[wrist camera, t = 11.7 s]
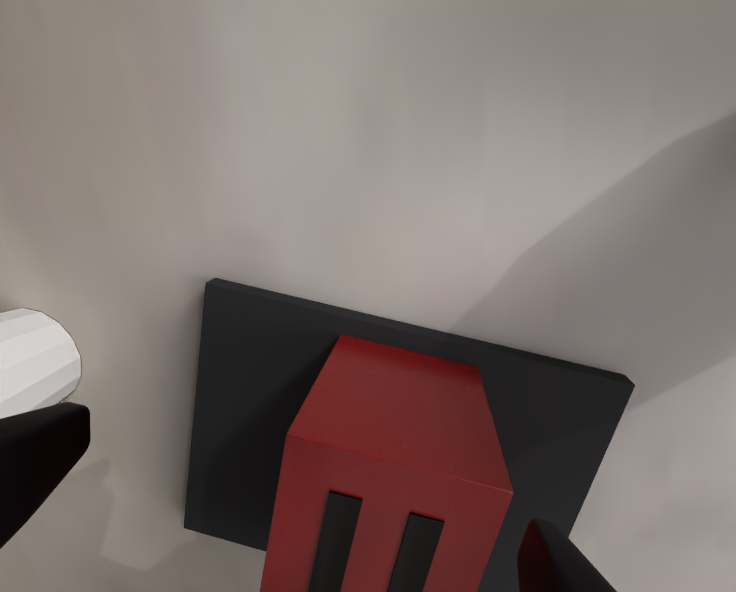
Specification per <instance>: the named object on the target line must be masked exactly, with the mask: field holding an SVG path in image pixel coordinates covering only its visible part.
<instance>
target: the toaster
mask: <svg viewBox="0 0 736 592" xmlns="http://www.w3.org/2000/svg"><path fill="white" fill-rule="evenodd" d="M512 495H513V490H512V486H511V483H510V479H509V475H508V472H507V468H506V465H505V461H504V458H503V454H502V451H501V447H500V443H499V440H498V436H497V433H496V429H495V426H494V422H493V419H492V415H491V411H490V408H489V404H488V401H487V397H486V394H485V390H484V387H483V383H482V379H481V376H480V372H479V369H478V367H475V366H471V365H467V364H463V363H459V362H454V361H450V360H446V359H442V358H438V357H434V356H430V355H425V354H421V353H417V352H413V351H409V350H405V349H401V348H396V347H392V346H388V345H384V344H380V343H376V342H372V341H368V340H363V339H359V338H355V337H351V336H347V335H343V334H341V335H340V337H339V338H338V340H337V342H336V344H335V346H334V348H333V349H332V351H331V353H330V355H329V357H328V359H327V360H326V362H325V364H324V366H323V368H322V370H321V371H320V373H319V375H318V377H317V379H316V380H315V382H314V384H313V386H312V388H311V390H310V391H309V393H308V395H307V397H306V399H305V401H304V402H303V404H302V406H301V408H300V410H299V412H298V413H297V415H296V417H295V419H294V421H293V423H292V424H291V426H290V428H289V430H288V432H287V434H286V439H285V445H284V451H283V457H282V463H281V468H280V474H279V480H278V486H277V492H276V498H275V504H274V510H273V516H272V522H271V528H270V534H269V540H268V546H267V552H266V558H265V564H264V570H263V576H262V581H261V587H260V592H476V591H477V589H478V586H479V583H480V581H481V578H482V575H483V573H484V570H485V567H486V565H487V562H488V559H489V557H490V554H491V551H492V549H493V546H494V543H495V541H496V538H497V535H498V533H499V530H500V527H501V525H502V522H503V519H504V517H505V514H506V511H507V509H508V506H509V503H510V501H511V498H512Z"/></svg>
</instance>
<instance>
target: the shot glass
mask: <svg viewBox="0 0 736 592" xmlns="http://www.w3.org/2000/svg"><path fill="white" fill-rule="evenodd" d="M80 377H81V359H80V355H79V353H78V350H77V348H76V346H75V343H74V341H73V339H72V338H71V336H70V335H69V334H68V333H67V332H66V331H65V330H64V328H63V327H62V326H61V325H60V324H59V323H58V322H57V321H55V320H53V319H52V318H50V317H48V316H47V315H45V314H44V313H42V312H39V311H34V310H29V309H24V308H21V309H16V310H12V311H7V312H3V313H0V419H1V418H5V417H9V416H13V415H17V414H21V413H25V412H29V411H33V410H36V409H40V408H44V407H48V406H52V405H55V404H56V403H58V402H59V401H60V400H62V399H63V398H64V397H66V396H67V395H68V394H70V393H71V392H72V391H74V390H75V388H76V386H77V384H78V381H79V379H80Z"/></svg>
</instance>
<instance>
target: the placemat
mask: <svg viewBox="0 0 736 592" xmlns="http://www.w3.org/2000/svg"><path fill="white" fill-rule="evenodd" d="M341 334H343V335H347V336H351V337H355V338H359V339H363V340H368V341H372V342H376V343H380V344H384V345H388V346H392V347H396V348H401V349H405V350H409V351H413V352H417V353H421V354H425V355H430V356H434V357H438V358H442V359H446V360H450V361H454V362H459V363H463V364H467V365H471V366H475V367H478V369H479V372H480V376H481V379H482V383H483V387H484V390H485V394H486V397H487V401H488V404H489V408H490V411H491V415H492V419H493V422H494V426H495V429H496V433H497V436H498V440H499V443H500V447H501V451H502V454H503V458H504V461H505V465H506V468H507V472H508V475H509V479H510V483H511V486H512V490H513V495H512V498H511V501H510V503H509V506H508V509H507V511H506V514H505V517H504V519H503V522H502V525H501V527H500V530H499V533H498V535H497V538H496V541H495V543H494V546H493V549H492V551H491V554H490V557H489V559H488V562H487V565H486V567H485V570H484V573H483V575H482V578H481V581H480V583H479V586H478V589H477V591H476V592H520V591H519V580H518V569H517V555H518V550H519V548H520V545H521V542H522V539H523V537H524V534H525V531H526V529H527V526H528V524H529V522H530V520H531V519H534V518H536V519H540V520H544V521H548V522H552V523H554V524H556V525H557V526H558V527H559V528H560V529H561V531H562V532H563V533H564V534H565V535H566V536H567V537H569V534H570V532H571V530H572V527H573V525H574V523H575V521H576V518H577V516H578V514H579V512H580V509H581V507H582V505H583V502H584V500H585V498H586V496H587V493H588V491H589V489H590V487H591V484H592V482H593V480H594V477H595V475H596V473H597V471H598V468H599V466H600V464H601V462H602V459H603V457H604V455H605V452H606V450H607V448H608V446H609V443H610V441H611V439H612V437H613V434H614V432H615V430H616V427H617V425H618V423H619V421H620V418H621V416H622V414H623V412H624V409H625V407H626V405H627V402H628V400H629V398H630V396H631V393H632V391H633V389H634V387H635V385H634V384H633V383H632V382H631V381H630V380H629V379H628V378H627V377H626V376H625V375H622V374H618V373H614V372H609V371H605V370H601V369H597V368H593V367H588V366H584V365H580V364H576V363H572V362H567V361H563V360H559V359H555V358H550V357H546V356H542V355H538V354H534V353H529V352H525V351H521V350H517V349H513V348H508V347H504V346H500V345H496V344H491V343H487V342H483V341H479V340H475V339H470V338H466V337H462V336H458V335H454V334H449V333H445V332H441V331H437V330H432V329H428V328H424V327H420V326H416V325H411V324H407V323H403V322H399V321H395V320H390V319H386V318H382V317H378V316H374V315H369V314H365V313H361V312H357V311H352V310H348V309H344V308H340V307H336V306H331V305H327V304H323V303H319V302H315V301H310V300H306V299H302V298H298V297H293V296H289V295H285V294H281V293H277V292H272V291H268V290H264V289H260V288H256V287H251V286H247V285H243V284H239V283H234V282H230V281H226V280H222V279H218V278H215V279H213V280H211V281H208V282H206V286H205V297H204V308H203V319H202V330H201V342H200V353H199V364H198V375H197V386H196V397H195V408H194V419H193V430H192V441H191V452H190V464H189V475H188V486H187V497H186V508H185V519H184V528H186V529H189V530H193V531H196V532H200V533H203V534H207V535H210V536H214V537H217V538H221V539H224V540H228V541H231V542H235V543H238V544H242V545H245V546H249V547H253V548H256V549H260V550H263V551H267V546H268V540H269V534H270V528H271V522H272V516H273V510H274V504H275V498H276V492H277V486H278V480H279V474H280V468H281V463H282V457H283V451H284V445H285V439H286V434H287V432H288V430H289V428H290V426H291V424H292V423H293V421H294V419H295V417H296V415H297V413H298V412H299V410H300V408H301V406H302V404H303V402H304V401H305V399H306V397H307V395H308V393H309V391H310V390H311V388H312V386H313V384H314V382H315V380H316V379H317V377H318V375H319V373H320V371H321V370H322V368H323V366H324V364H325V362H326V360H327V359H328V357H329V355H330V353H331V351H332V349H333V348H334V346H335V344H336V342H337V340H338V338H339V337H340V335H341Z"/></svg>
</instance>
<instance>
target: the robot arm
mask: <svg viewBox="0 0 736 592" xmlns="http://www.w3.org/2000/svg"><path fill="white" fill-rule="evenodd" d="M89 443H90V411H89V409H88V408H87V407H86V406H84V405H80V404H76V403H72V402H64V403H60V404H56V405H52V406H48V407H44V408H40V409H36V410H33V411H29V412H25V413H21V414H17V415H13V416H9V417H5V418H1V419H0V549H1V548H2V547H3V546H4V545H5V544H6V543H7V542H8V541H9V540H10V539H11V538H12V537H13V536H14V534H15V533H16V532H17V531H18V530H19V529H20V528H21V527H22V526H23V525H24V524H25V523H26V522H27V521H28V520H29V519H30V517H31V516H32V515H33V514H34V513H35V512H36V511H37V509H38V508H39V507H40V506H41V505H42V504H43V502H44V501H45V500H46V499H47V498H48V496H49V495H50V494H51V493H52V492H53V490H54V489H55V488H56V487H57V486H58V484H59V483H60V482H61V481H62V480H63V478H64V477H65V476H66V475H67V474H68V472H69V471H70V470H71V469H72V468H73V466H74V465H75V464H76V463H77V462H78V460H79V459H80V458H81V457H82V456H83V455H84V453H85V452H86V450H87V448H88V446H89ZM517 569H518V580H519V591H520V592H617V591H616V590H615V589H614V588H613V587H612V586H611V585H610V584H609V583H608V581H607V580H606V579H605V578H604V577H603V576H602V575H601V574H600V573H599V571H598V570H597V569H596V568H595V567H594V566H593V565H592V564H591V563H590V562H589V560H588V559H587V558H586V557H585V556H584V555H583V554H582V553H581V552H580V550H579V549H578V548H577V547H576V546H575V545H574V544H573V543H572V542H571V540H570V539H569V538H568V537H567V536H566V535H565V534H564V533H563V532H562V531H561V529H560V528H559V527H558V526H557V525H556V524H554V523H552V522H548V521H544V520H540V519H536V518H534V519H531V520H530V522H529V524H528V526H527V529H526V531H525V534H524V537H523V539H522V542H521V545H520V548H519V550H518V555H517Z"/></svg>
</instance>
